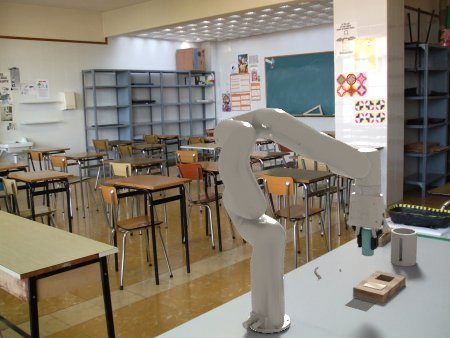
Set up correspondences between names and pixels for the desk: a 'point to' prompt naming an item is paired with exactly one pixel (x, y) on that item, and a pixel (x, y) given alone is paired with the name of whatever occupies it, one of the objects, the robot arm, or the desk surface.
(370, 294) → the wooden peg hole block
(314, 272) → the pliers
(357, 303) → the pad
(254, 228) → the robot arm
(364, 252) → the peg
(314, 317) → the desk surface
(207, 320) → the desk surface
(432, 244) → the desk surface
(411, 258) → the cup
